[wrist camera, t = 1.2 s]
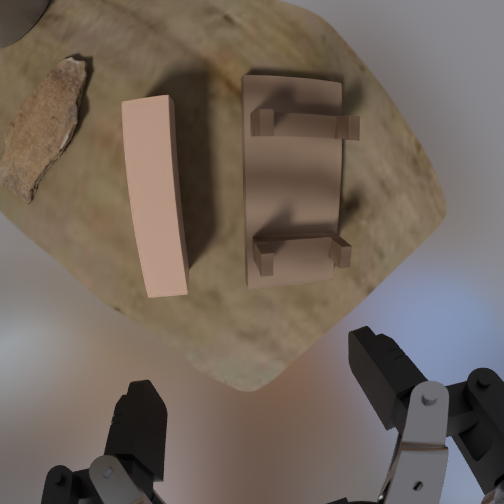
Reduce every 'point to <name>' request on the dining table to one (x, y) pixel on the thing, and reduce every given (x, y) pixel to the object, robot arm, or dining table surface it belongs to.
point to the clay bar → (156, 193)
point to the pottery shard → (42, 128)
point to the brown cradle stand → (293, 179)
